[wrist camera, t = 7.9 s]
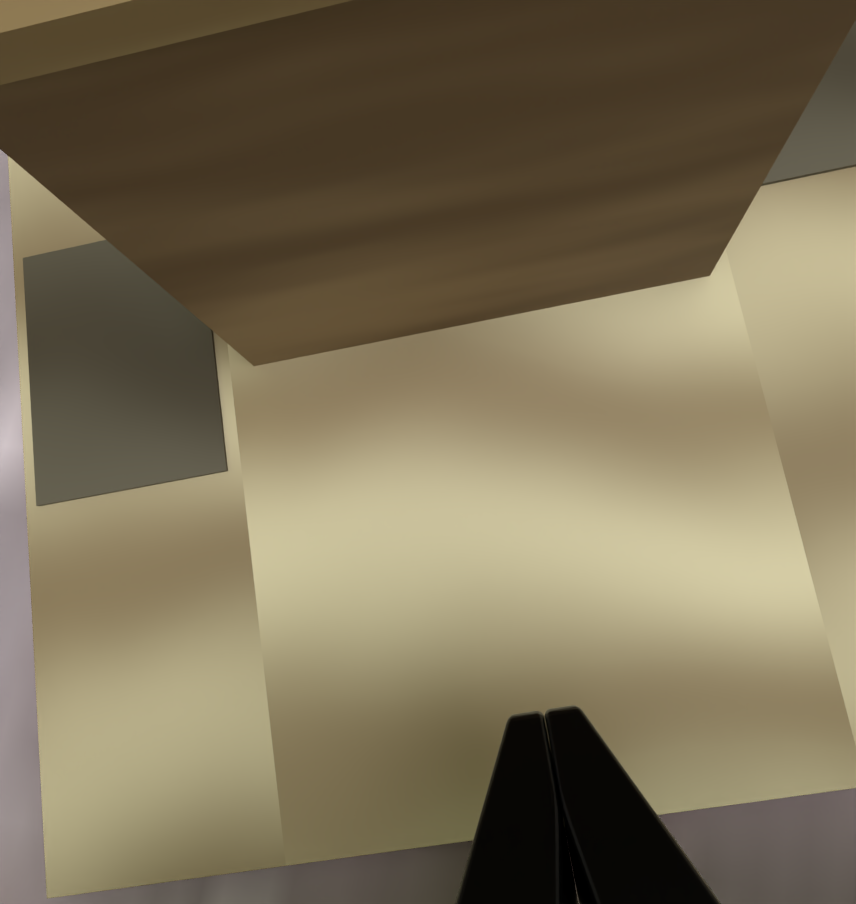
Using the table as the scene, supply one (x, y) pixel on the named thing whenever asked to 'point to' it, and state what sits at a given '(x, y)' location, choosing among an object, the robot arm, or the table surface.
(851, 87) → the board
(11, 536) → the table surface
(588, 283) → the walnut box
